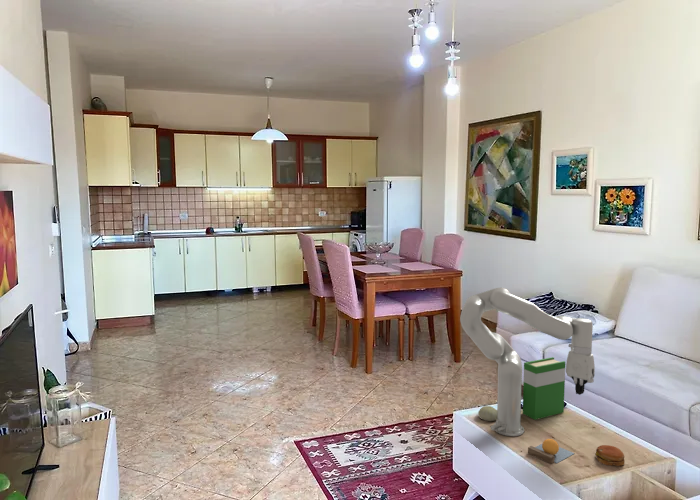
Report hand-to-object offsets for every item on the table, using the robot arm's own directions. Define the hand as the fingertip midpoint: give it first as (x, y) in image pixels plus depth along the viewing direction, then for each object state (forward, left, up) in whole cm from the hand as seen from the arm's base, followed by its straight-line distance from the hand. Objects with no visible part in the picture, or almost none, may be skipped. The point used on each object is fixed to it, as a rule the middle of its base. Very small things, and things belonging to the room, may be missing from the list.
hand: (579, 393), depth 208 cm
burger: (-7, -17, -20) cm, 27 cm away
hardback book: (+11, +23, -19) cm, 32 cm away
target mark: (-19, 0, -19) cm, 27 cm away
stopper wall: (-26, 0, -19) cm, 32 cm away
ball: (-21, -1, -16) cm, 26 cm away
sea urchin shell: (-13, +35, -20) cm, 42 cm away
